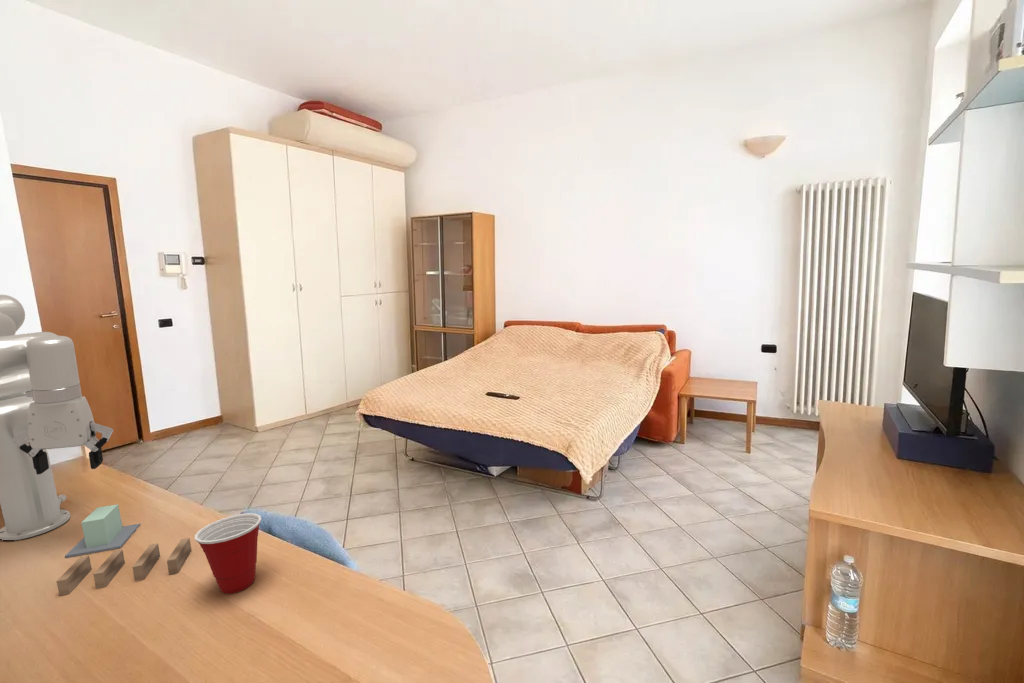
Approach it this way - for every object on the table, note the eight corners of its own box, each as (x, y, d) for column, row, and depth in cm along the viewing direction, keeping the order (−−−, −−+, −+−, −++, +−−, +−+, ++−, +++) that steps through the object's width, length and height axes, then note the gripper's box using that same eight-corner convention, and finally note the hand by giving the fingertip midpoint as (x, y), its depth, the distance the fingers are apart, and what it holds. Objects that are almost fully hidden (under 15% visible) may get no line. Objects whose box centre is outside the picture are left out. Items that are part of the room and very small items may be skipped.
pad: (90, 533, 113) (89, 531, 113) (140, 525, 116) (140, 523, 116) (65, 558, 104) (64, 555, 104) (120, 548, 107) (120, 546, 106)
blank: (102, 531, 113) (97, 507, 112) (122, 528, 114) (118, 504, 113) (86, 548, 106) (81, 522, 105) (108, 544, 108) (103, 518, 107)
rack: (82, 570, 99) (80, 557, 98) (191, 550, 104) (189, 537, 104) (59, 595, 91) (56, 581, 91) (177, 572, 97) (175, 559, 96)
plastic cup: (258, 559, 100) (250, 504, 98) (277, 581, 92) (269, 522, 90) (197, 585, 93) (187, 526, 91) (212, 612, 85) (202, 548, 83)
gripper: (-6, 402, 99) (9, 481, 102) (97, 396, 104) (108, 471, 107) (18, 392, 106) (32, 466, 109) (114, 386, 111) (124, 457, 114)
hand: (70, 469), depth 108 cm, fingers open, 9 cm apart
